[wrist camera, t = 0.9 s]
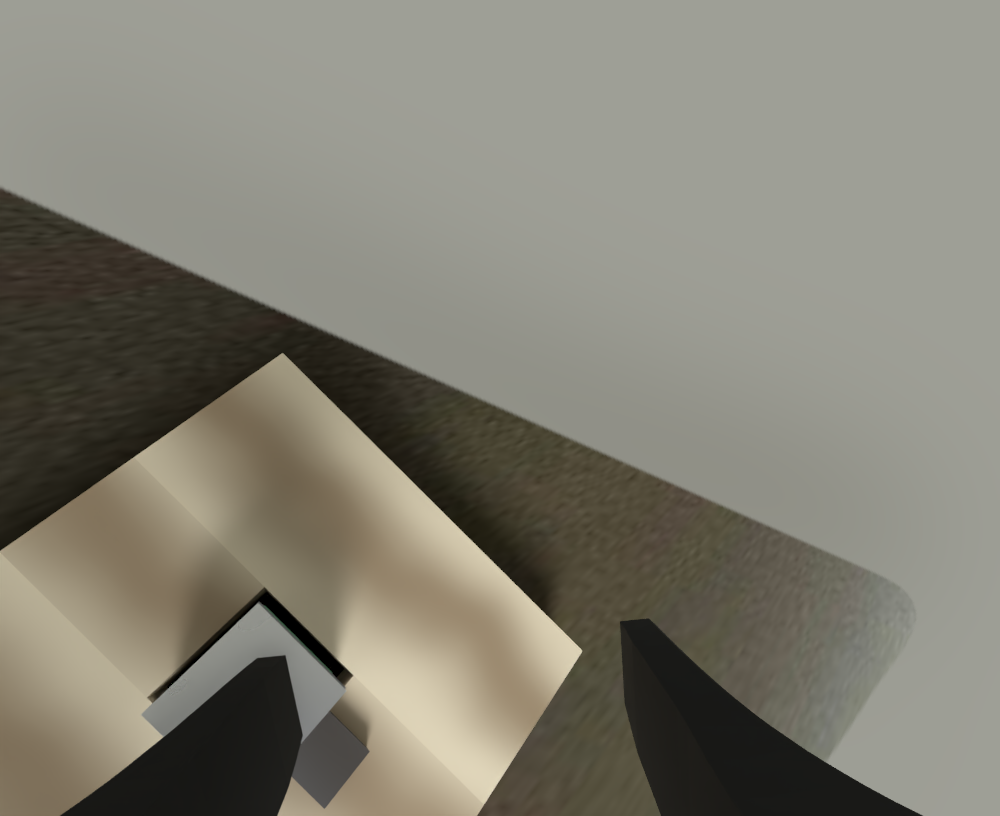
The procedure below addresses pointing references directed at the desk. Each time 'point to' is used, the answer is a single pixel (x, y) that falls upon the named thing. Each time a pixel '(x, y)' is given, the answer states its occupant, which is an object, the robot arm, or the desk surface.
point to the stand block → (295, 587)
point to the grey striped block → (232, 655)
